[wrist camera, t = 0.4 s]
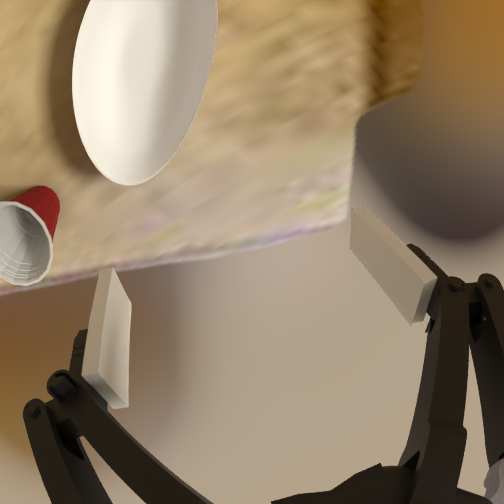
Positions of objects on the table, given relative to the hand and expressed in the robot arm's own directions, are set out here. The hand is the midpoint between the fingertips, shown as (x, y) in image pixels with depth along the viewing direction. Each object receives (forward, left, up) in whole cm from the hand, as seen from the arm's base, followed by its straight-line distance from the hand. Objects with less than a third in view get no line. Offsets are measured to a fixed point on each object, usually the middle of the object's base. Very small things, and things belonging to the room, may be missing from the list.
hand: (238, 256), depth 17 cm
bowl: (-12, -4, -28) cm, 31 cm away
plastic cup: (+2, -24, -28) cm, 37 cm away
